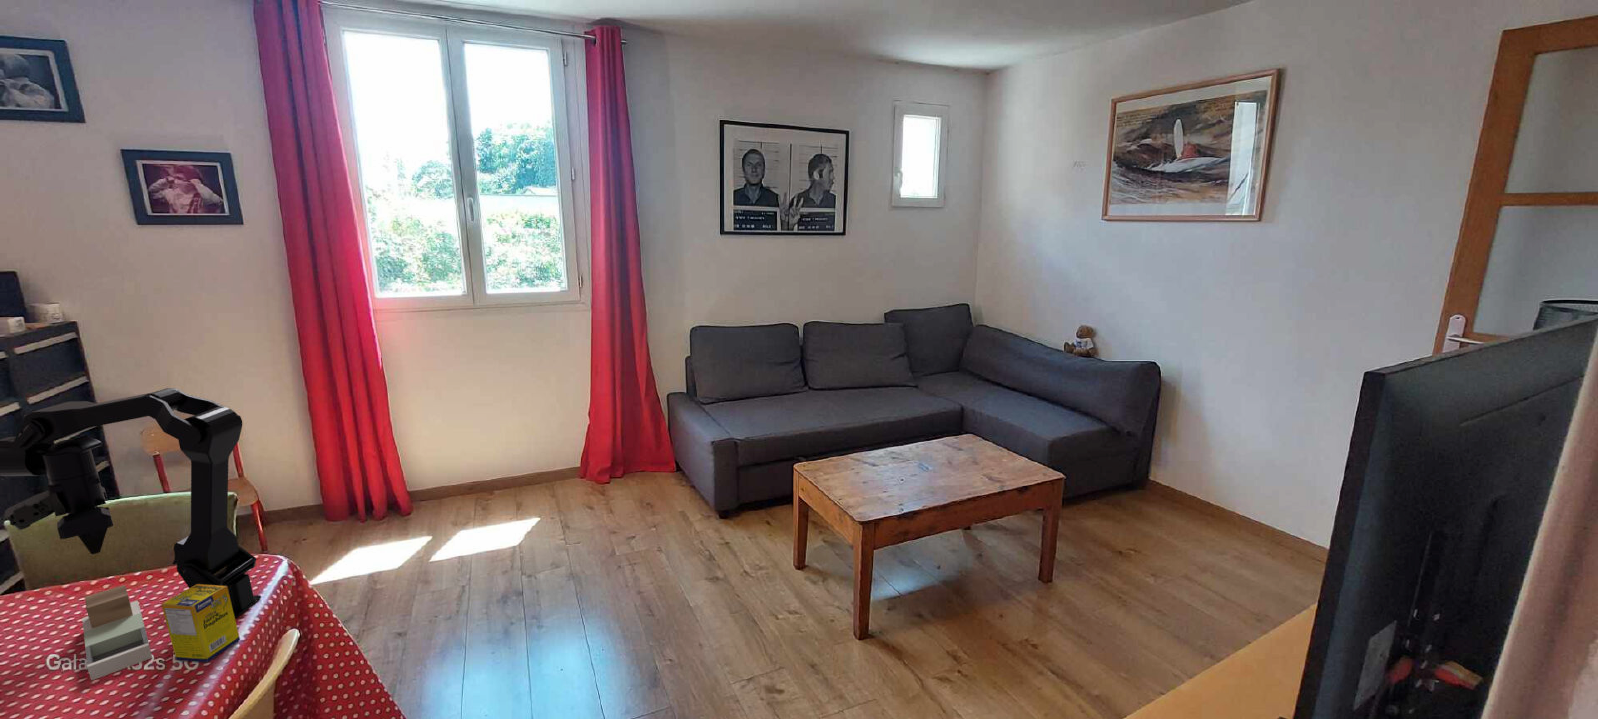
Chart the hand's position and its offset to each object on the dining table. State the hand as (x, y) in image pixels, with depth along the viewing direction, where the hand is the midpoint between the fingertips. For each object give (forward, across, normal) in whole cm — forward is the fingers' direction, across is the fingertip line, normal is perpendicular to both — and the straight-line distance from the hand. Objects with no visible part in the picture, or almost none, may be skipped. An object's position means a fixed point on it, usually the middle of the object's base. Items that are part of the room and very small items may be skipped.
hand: (95, 552), depth 116 cm
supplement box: (+13, +28, +10) cm, 32 cm away
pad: (+12, +13, 0) cm, 18 cm away
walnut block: (+10, +7, 0) cm, 12 cm away
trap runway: (+12, +12, 0) cm, 17 cm away
